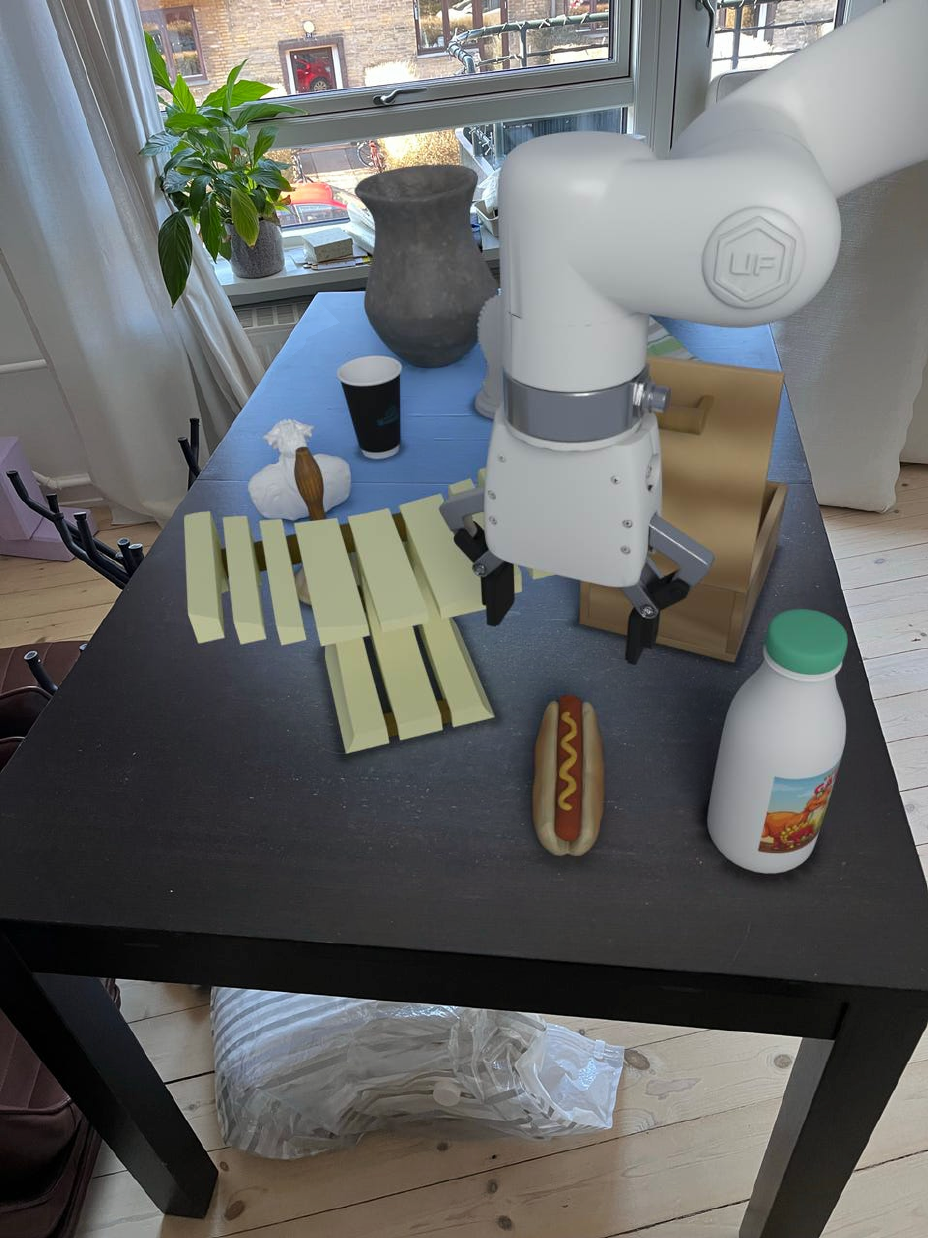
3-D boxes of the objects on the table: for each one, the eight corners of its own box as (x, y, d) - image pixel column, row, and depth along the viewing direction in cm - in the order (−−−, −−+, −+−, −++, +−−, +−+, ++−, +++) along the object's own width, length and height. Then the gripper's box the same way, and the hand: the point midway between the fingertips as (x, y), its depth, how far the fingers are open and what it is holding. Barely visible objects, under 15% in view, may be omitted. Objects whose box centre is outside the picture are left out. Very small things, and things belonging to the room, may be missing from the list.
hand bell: (345, 615, 89) (318, 478, 78) (277, 597, 92) (242, 462, 81) (386, 568, 94) (364, 434, 84) (320, 552, 97) (292, 421, 87)
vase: (395, 397, 125) (371, 209, 109) (357, 349, 139) (331, 176, 123) (522, 366, 130) (517, 182, 114) (473, 323, 144) (462, 153, 128)
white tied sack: (356, 509, 108) (333, 418, 107) (362, 501, 100) (337, 403, 99) (258, 531, 105) (234, 438, 105) (256, 525, 98) (230, 425, 97)
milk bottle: (709, 872, 64) (748, 671, 51) (702, 788, 69) (736, 588, 56) (821, 882, 62) (890, 678, 50) (805, 795, 68) (863, 592, 55)
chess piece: (556, 413, 118) (556, 302, 108) (485, 426, 117) (478, 314, 107) (534, 382, 126) (532, 276, 116) (467, 394, 124) (460, 287, 115)
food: (605, 871, 64) (608, 830, 61) (529, 868, 65) (528, 826, 62) (602, 729, 75) (605, 687, 71) (537, 727, 75) (536, 685, 72)
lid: (584, 345, 67) (560, 375, 64) (785, 371, 62) (770, 405, 58) (582, 551, 80) (561, 584, 77) (748, 587, 75) (733, 625, 71)
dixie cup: (358, 433, 118) (346, 354, 110) (416, 434, 116) (407, 355, 109) (343, 464, 112) (328, 383, 105) (404, 466, 110) (394, 383, 103)
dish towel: (588, 402, 120) (589, 378, 118) (541, 338, 137) (541, 315, 135) (707, 383, 122) (710, 358, 120) (646, 321, 139) (648, 299, 137)
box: (638, 520, 98) (643, 458, 93) (776, 548, 92) (789, 483, 87) (579, 623, 85) (580, 557, 80) (734, 663, 80) (746, 594, 75)
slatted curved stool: (529, 589, 90) (525, 431, 78) (586, 694, 78) (591, 526, 66) (233, 655, 85) (183, 498, 74) (245, 778, 73) (187, 613, 62)
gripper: (750, 388, 47) (711, 629, 58) (460, 345, 54) (474, 571, 65) (715, 455, 42) (679, 705, 53) (400, 399, 48) (426, 633, 60)
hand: (567, 631), depth 59 cm, fingers open, 9 cm apart
